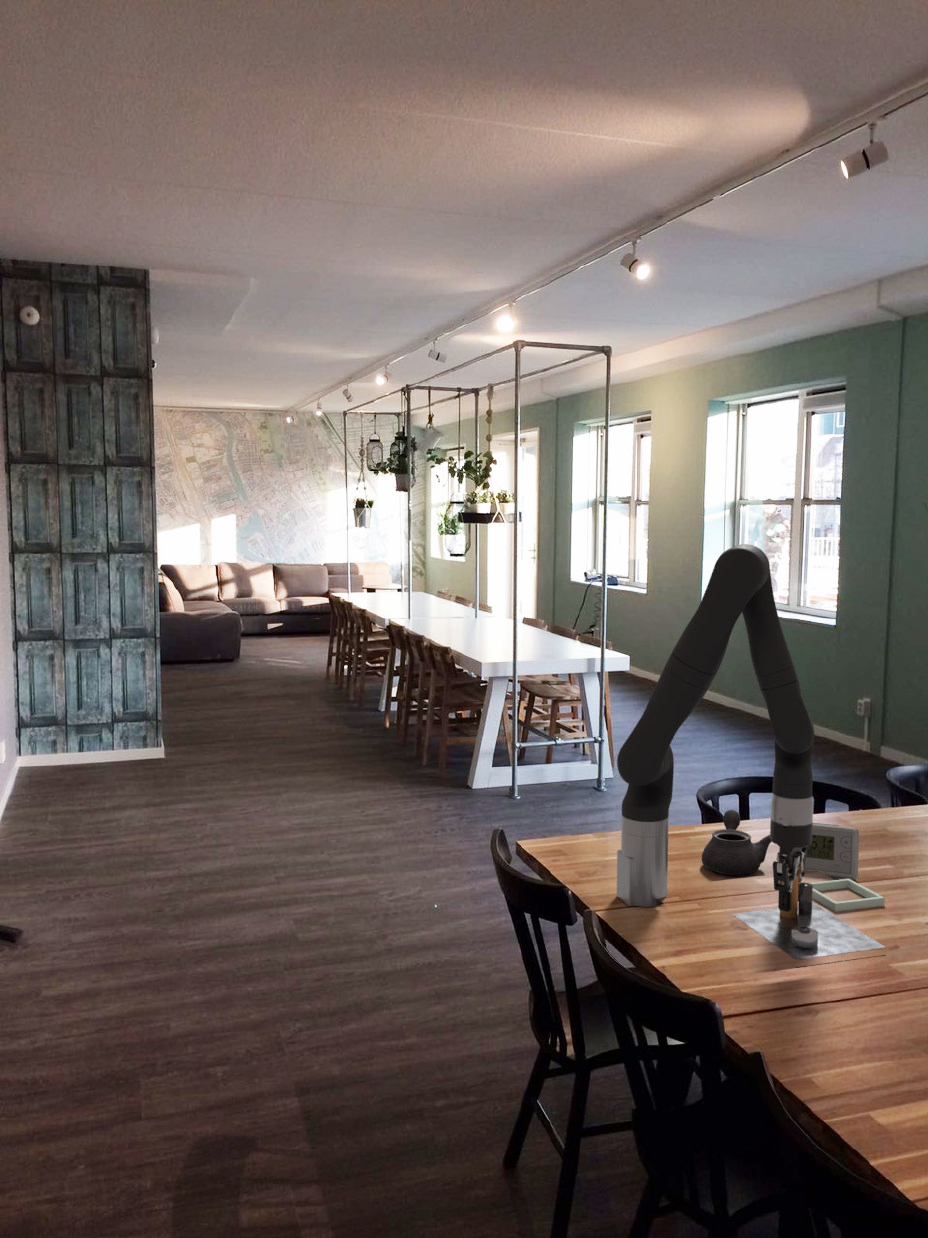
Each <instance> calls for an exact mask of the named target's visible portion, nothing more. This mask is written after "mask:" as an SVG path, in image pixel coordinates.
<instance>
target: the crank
mask: <svg viewBox="0 0 928 1238" xmlns="http://www.w3.org/2000/svg"><path fill="white" fill-rule="evenodd" d="M810 883H811V882H801V883H800V884H799V901H798V927H794V928H792V938H791V942H792V943H793V944H794V945H796V946H798V947H802V948H814V947H816V946H817V945H818V931H817V930H815V929H813V928H812V904H813V898H812V894H813V885H812V884H810Z"/></svg>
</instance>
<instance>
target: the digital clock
mask: <svg viewBox="0 0 928 1238" xmlns="http://www.w3.org/2000/svg"><path fill="white" fill-rule="evenodd" d="M859 831H860V830H859V829H858V828H856V827H853V826H843V825H839V824H838V825H837V824H828V823H819V822H813V826H812V843H811V844H810V845H809V846H807V854H806V864H805V872H808V871H809V872H810V871H811V872H813V871H814V872H820V873H822V874H823V875H825V876H828V877H829V878H831V879H832V880H837V879H838V880H840V879H851V880H853V881H854V880H857V878H858V876H859V854H860V853H859V849H860V846H859V845H860V832H859ZM779 850H780V848H779Z"/></svg>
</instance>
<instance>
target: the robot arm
mask: <svg viewBox="0 0 928 1238" xmlns="http://www.w3.org/2000/svg"><path fill="white" fill-rule="evenodd" d="M701 598H702V599H701V601H700V603H699V605H698V607H697V609H696V611H695V612H694V614H693V616H692V617H691V619H690V620H689V622H688V623H687V625H686V626H685V628H684V630H683V632H682V633H681V634H680V637H679V638H678V641H677V642H676V644H675V646H674V648H673V649H672V651H671V654H669V657H668V659H667V660H666V663H665V665H664V667H663V669H662V670H661V671H662V672H661V673H660V676H659V678H658V680H657V683H656V684H655V686H654V687H653V690H652V692H651V695H650V697H649V701H648V703H647V704H646V707H645V709H644V712H643V713H642V714H641V717H640V718H639V720H638V722H637V724H636V725H635V726H634V728H633V730H632V731H631V732H630V734H629V735H628V737H627V738H626V740H625V742H624V743H623V744H622V746H621V747H620V749H619V752H618V754H617V760H616V762H617V763H616V766H617V771H618V773H619V776H620V778H621V779H622V780H623V782H625V783H627V785H628V786H627V789H626V792H625V795H624V796H623V797H624V798H623V799H622V802H621V836H620V837H621V843H620V845H621V847H620V848H621V849H618V850H617V851H616V896H617V898H619V899H620V900H621V901H622V902H624V904H626V905H627V906H629V907H641V908H642V907H643V908H652V907H658V906H662V905H664V903H663V901H661V899H664V898H666V897H667V896H668V866H669V863H668V861H669V860H668V859H669V818H670V817H669V816H670V815H669V813H670V806H671V803H672V798H673V792H674V791H673V790H674V787H673V786H674V774H675V773H674V768H675V761H674V753H673V750H672V747H671V743H672V741H673V740H674V737H675V736H676V734H677V732H678V731H679V729H680V727H681V726H682V725H683V724H684V722H686V720H687V719H688V717H689V716H690V715H691V714H692V713H693V711H694V710H695V709H697V706H698V705H699V704H700V702H701V701H702V699H704V697H705V696H706V694H707V692H708V691H709V689H710V687H711V685H712V683H713V682H714V680H715V677H716V675H717V674H718V672H719V669H720V668H721V665H722V663H723V660H724V657H725V656H726V655H725V654H726V652H727V648H728V645H729V642H730V638H731V634H732V632H733V630H734V629H733V628H735V624H736V622H738V619H739V617H740V616H741V614H742V617H743V620H744V624H745V627H746V631H747V639H748V645H749V652H750V658H751V662H752V666H753V670H754V674H755V677H756V680H757V683H758V686H759V689H760V693H761V695H762V697H763V699H764V702H765V704H766V709H767V714H768V718H769V721H770V725H771V729H772V732H773V737H774V759H775V760H774V766H773V767H774V768H773V773H772V775H773V777H772V797H771V804H770V827H769V828H770V830H769V832H770V833H769V835H770V840H771V841H772V842H771V843H773V844H775V845H777V846H778V847H779V849H780V850H779V851H778V852H777V853H776V854H777V855H776V860H774V861H773V863H772V873H773V874H772V876H773V877H772V878H773V890H775V891H778V903H777V904H778V905H777V906H778V907H777V908H779V910H782V911H787V912H789V911H790V910H791V899H792V885H793V881H794V880H795V879H796V875H797V876H798V877H799V880H798V902H799V884H800V883H802V881H803V879H802V878H803V877H805V873H806V871H805V864H806V854H807V846H809V845H810V844H811V843H812V826H813V823H814V821H813V819H814V817H813V816H814V804H813V803H814V802H813V771H812V757H813V756H812V753H813V743H814V741H815V728H814V724H813V721H812V719H811V718H810V717H809V716H810V715H809V714H808V711H807V707H806V706H805V702H804V700H803V697H802V691H801V685H800V680H799V677H798V674H797V671H796V667H795V665H794V662H793V659H792V656H791V653H790V650H789V647H788V644H787V640H786V637H785V634H784V631H783V629H782V625H781V622H780V618H779V614H778V610H777V607H776V606H777V605H776V602H775V595H774V590H773V583H772V575H771V565H770V561H769V558H768V556H767V554H766V553H765V551H763V550H762V548H759V547H758V546H756V545H753V544H749V543H743V544H737V545H734V546H733V547H731V548H728V549H726V550H725V551H723V552H722V553H721V554H720V556H718V559H717V560H716V561H715V565H714V567H713V569H712V573H711V576H710V578H709V581H708V584H707V586H706V588H705V591H704V594H703V596H702V597H701ZM788 873H789V874H791V875H788ZM782 881H783V882H784V885H782Z"/></svg>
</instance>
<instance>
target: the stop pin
mask: <svg viewBox="0 0 928 1238" xmlns="http://www.w3.org/2000/svg"><path fill="white" fill-rule="evenodd" d="M788 875H791V874H789V873H788ZM798 880H799V877H798V876H797V875H796V879H795V880H794V881H793V885H792V899H791V910H790V911H789V912H787V911H782V910H780V915H781V916H782V917H785V918H796V917H797V914H798V903H799V901H798ZM782 885H784V882H783V881H782Z"/></svg>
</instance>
